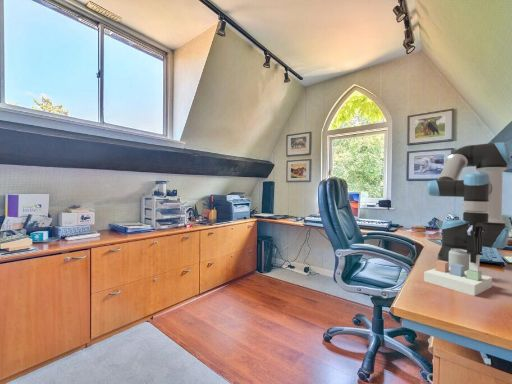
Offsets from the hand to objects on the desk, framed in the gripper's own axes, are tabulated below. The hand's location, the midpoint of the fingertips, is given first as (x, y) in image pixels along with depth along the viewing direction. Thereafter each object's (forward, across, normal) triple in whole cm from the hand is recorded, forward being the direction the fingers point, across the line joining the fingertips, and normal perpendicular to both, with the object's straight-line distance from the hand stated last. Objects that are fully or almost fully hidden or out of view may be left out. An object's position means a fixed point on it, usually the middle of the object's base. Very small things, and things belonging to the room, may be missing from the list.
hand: (474, 270), depth 97 cm
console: (+7, 0, -6) cm, 9 cm away
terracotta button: (+4, 0, -11) cm, 12 cm away
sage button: (+5, 0, 0) cm, 5 cm away
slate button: (+4, 0, -5) cm, 7 cm away
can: (+8, -14, -10) cm, 19 cm away
